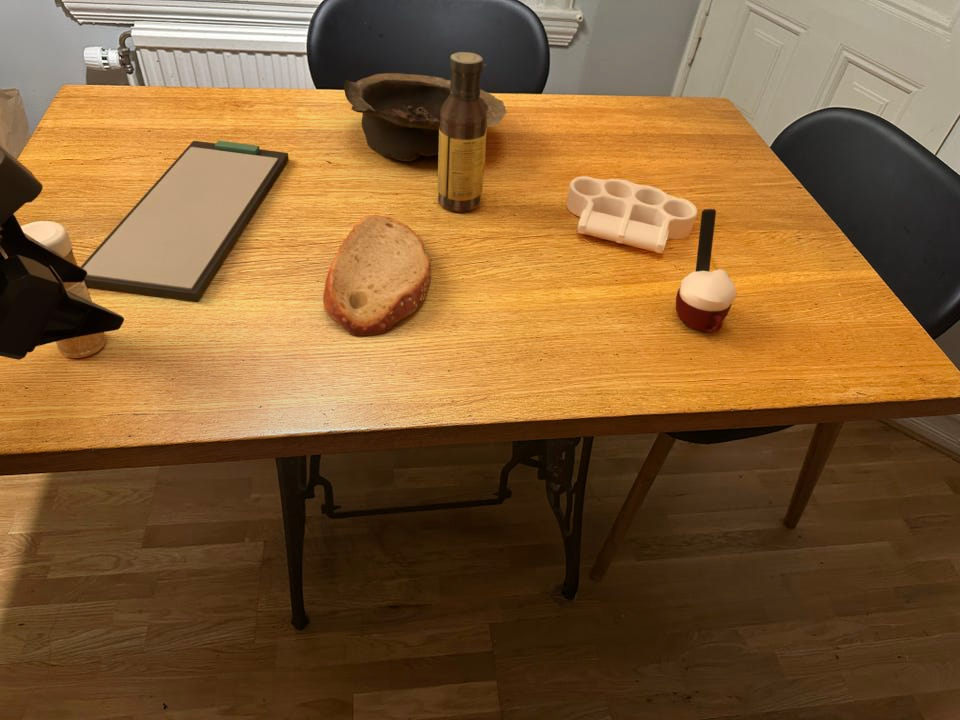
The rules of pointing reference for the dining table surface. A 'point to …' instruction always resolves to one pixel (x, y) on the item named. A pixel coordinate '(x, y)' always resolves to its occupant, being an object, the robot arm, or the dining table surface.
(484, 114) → the sauce bottle
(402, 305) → the slice of bread
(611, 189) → the knuckle duster
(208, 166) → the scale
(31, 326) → the robot arm
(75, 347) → the sprinkles bottle
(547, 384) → the dining table surface
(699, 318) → the cocoa
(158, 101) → the dining table surface
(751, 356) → the dining table surface
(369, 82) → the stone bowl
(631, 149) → the dining table surface
